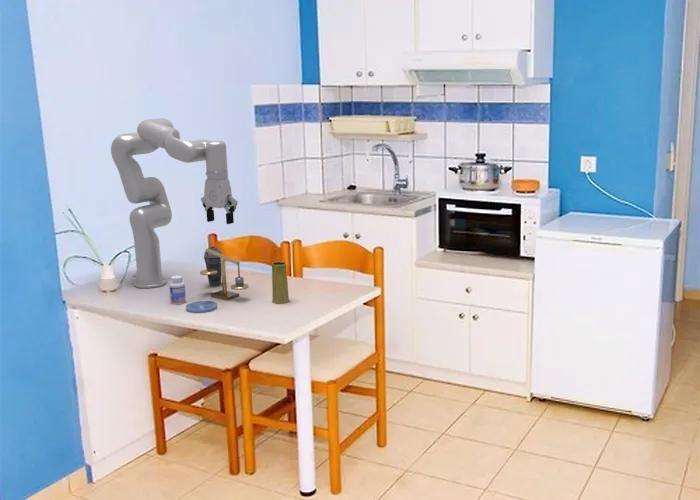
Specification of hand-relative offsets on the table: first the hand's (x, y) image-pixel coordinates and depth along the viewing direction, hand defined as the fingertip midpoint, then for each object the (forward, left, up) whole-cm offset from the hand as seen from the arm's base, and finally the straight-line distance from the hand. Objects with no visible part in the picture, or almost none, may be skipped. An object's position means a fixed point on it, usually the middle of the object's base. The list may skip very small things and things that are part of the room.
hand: (220, 222), depth 280 cm
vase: (+22, +6, -28) cm, 36 cm away
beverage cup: (-15, +10, -28) cm, 34 cm away
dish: (+3, -15, -28) cm, 32 cm away
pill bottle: (-10, -14, -28) cm, 33 cm away
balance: (0, 0, -28) cm, 28 cm away
